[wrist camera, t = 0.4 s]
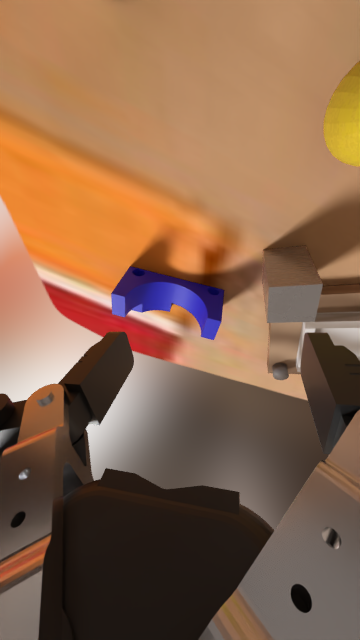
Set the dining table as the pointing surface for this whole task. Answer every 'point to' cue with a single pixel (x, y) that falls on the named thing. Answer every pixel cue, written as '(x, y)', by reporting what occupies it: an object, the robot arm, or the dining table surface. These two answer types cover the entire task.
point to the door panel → (316, 329)
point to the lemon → (345, 119)
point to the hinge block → (290, 285)
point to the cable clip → (168, 297)
